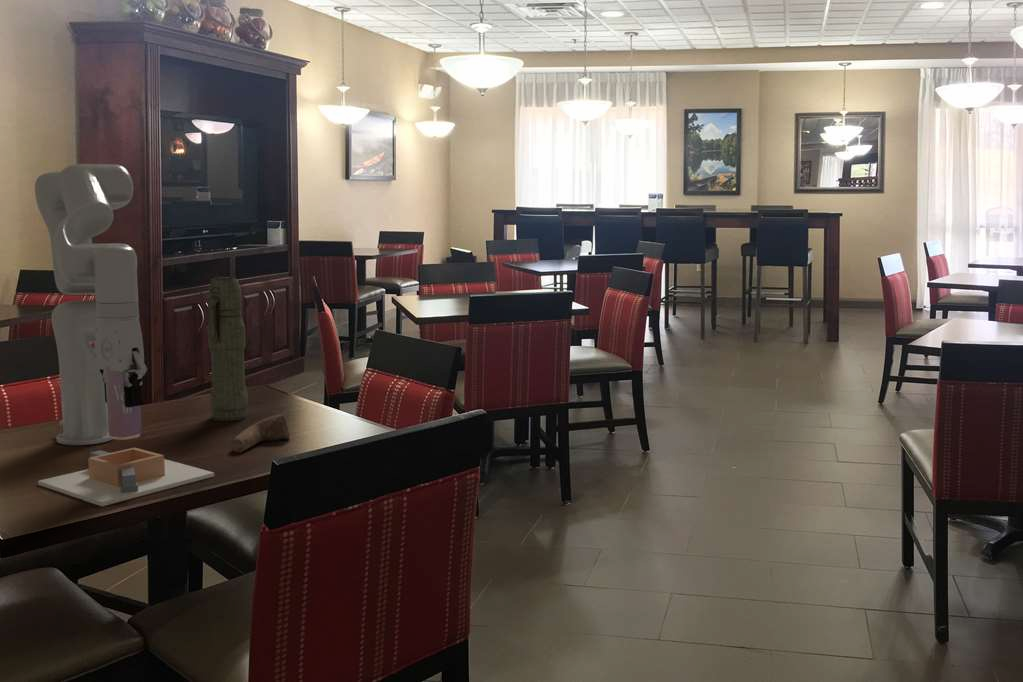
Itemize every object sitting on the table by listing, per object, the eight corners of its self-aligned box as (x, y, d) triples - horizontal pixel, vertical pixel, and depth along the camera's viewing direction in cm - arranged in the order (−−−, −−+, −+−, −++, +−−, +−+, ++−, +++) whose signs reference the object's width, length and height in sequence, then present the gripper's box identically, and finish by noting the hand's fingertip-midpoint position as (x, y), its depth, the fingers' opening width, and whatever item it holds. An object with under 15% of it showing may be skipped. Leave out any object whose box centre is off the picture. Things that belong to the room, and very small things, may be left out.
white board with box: (38, 484, 191) (36, 460, 191) (149, 458, 210) (148, 436, 210) (101, 506, 178) (100, 480, 178) (214, 476, 197) (213, 452, 197)
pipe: (223, 432, 215) (267, 426, 213) (251, 414, 231) (292, 408, 230) (229, 460, 215) (273, 454, 214) (256, 441, 232) (297, 435, 230)
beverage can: (141, 432, 197) (137, 356, 195) (142, 438, 191) (138, 361, 189) (109, 434, 195) (104, 358, 193) (108, 441, 189) (104, 363, 187)
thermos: (201, 421, 245) (195, 279, 239) (225, 411, 256) (219, 275, 251) (234, 423, 243) (228, 279, 238) (257, 412, 254) (252, 275, 249)
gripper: (74, 310, 192) (80, 402, 194) (125, 316, 181) (131, 413, 184) (110, 306, 198) (116, 396, 200) (162, 312, 187) (167, 406, 190)
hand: (123, 403), depth 192 cm, fingers closed on beverage can, 6 cm apart
